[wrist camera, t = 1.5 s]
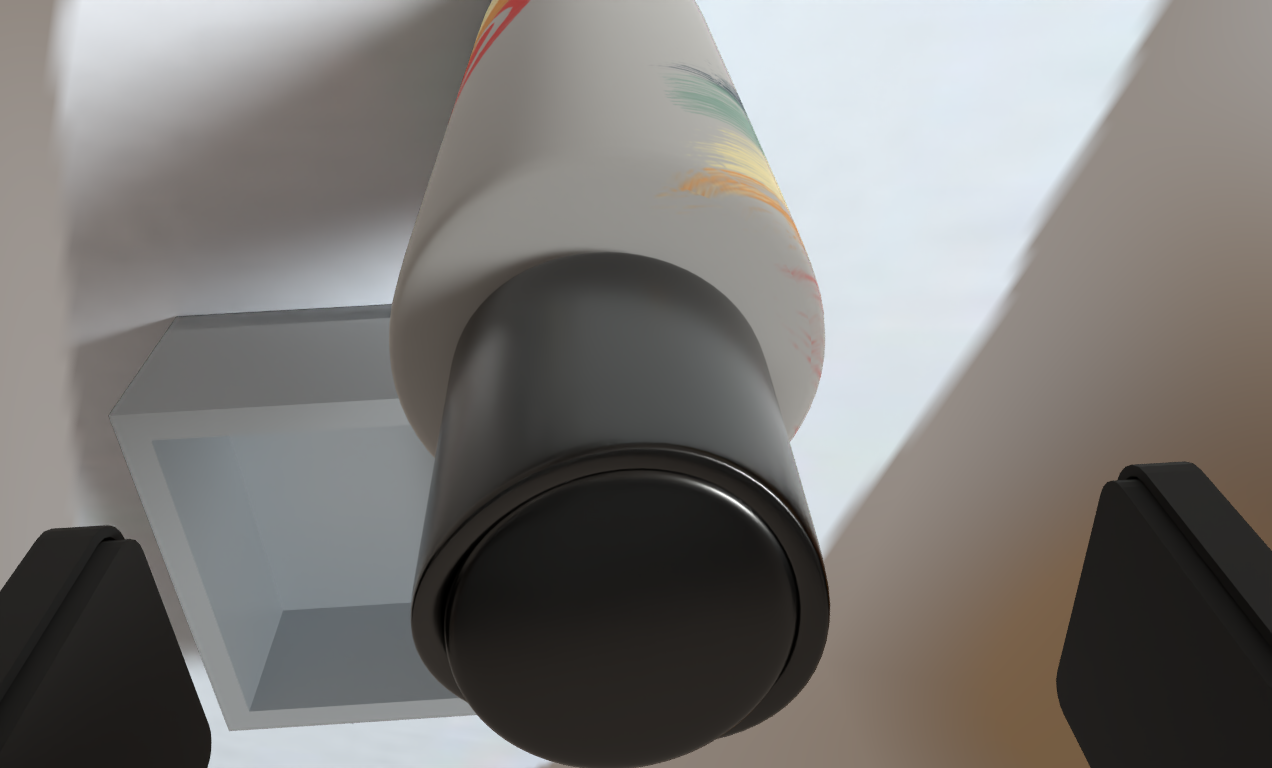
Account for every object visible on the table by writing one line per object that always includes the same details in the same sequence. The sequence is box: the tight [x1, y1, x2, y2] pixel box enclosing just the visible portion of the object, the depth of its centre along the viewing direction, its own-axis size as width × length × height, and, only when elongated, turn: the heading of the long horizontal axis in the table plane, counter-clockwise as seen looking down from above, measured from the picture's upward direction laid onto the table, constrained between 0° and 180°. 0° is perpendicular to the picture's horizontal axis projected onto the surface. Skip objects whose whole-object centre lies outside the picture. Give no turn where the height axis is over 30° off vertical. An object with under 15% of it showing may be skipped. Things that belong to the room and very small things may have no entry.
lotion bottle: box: [389, 0, 830, 768], centre depth 17 cm, size 6×6×20 cm
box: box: [109, 304, 477, 731], centre depth 30 cm, size 12×12×5 cm
